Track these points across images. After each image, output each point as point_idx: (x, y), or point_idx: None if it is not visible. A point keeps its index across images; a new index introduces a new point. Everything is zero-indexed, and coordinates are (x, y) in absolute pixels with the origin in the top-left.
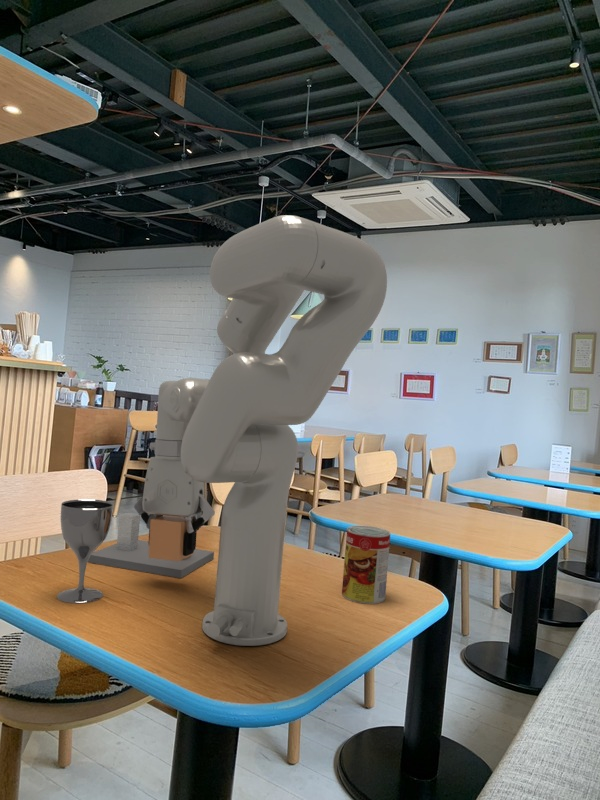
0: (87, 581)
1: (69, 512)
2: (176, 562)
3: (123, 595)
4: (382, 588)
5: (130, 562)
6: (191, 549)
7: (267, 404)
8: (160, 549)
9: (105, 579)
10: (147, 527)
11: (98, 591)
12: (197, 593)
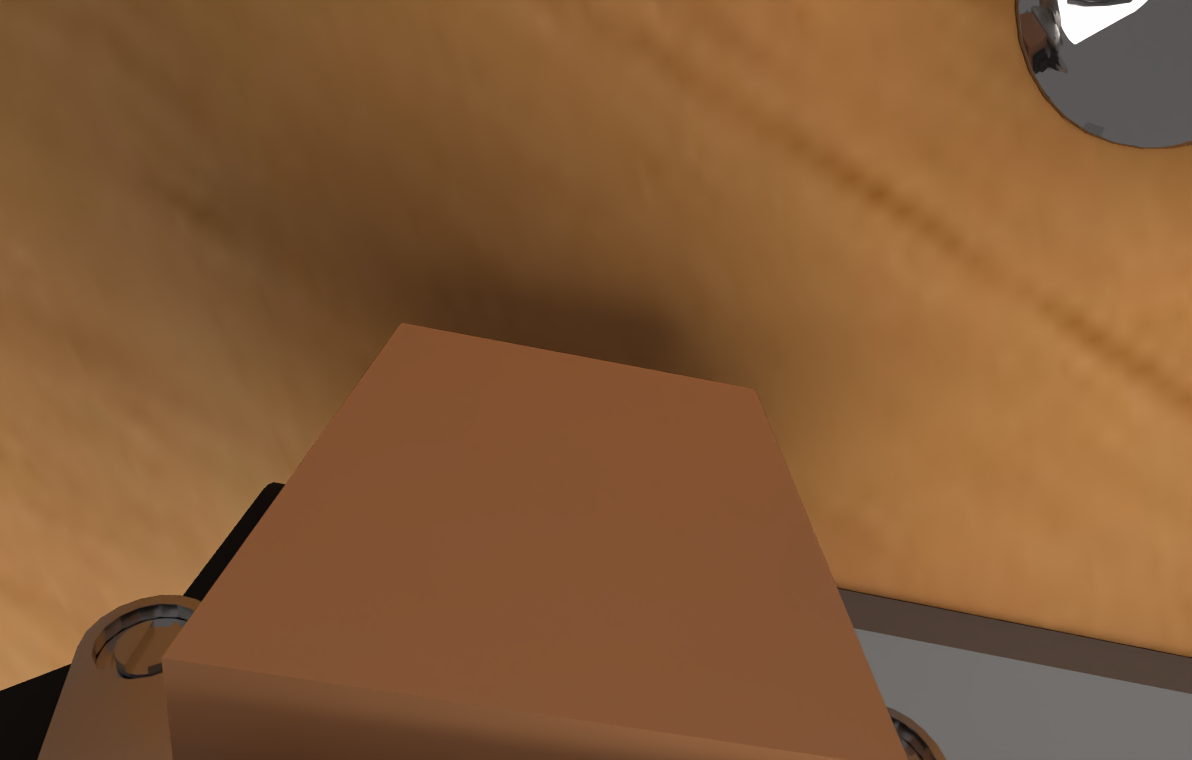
0: (1189, 309)
1: None
2: None
3: (848, 72)
4: None
5: (936, 639)
6: (280, 484)
7: None
8: (625, 412)
9: (1054, 386)
10: (913, 727)
11: (1072, 68)
12: (336, 282)
